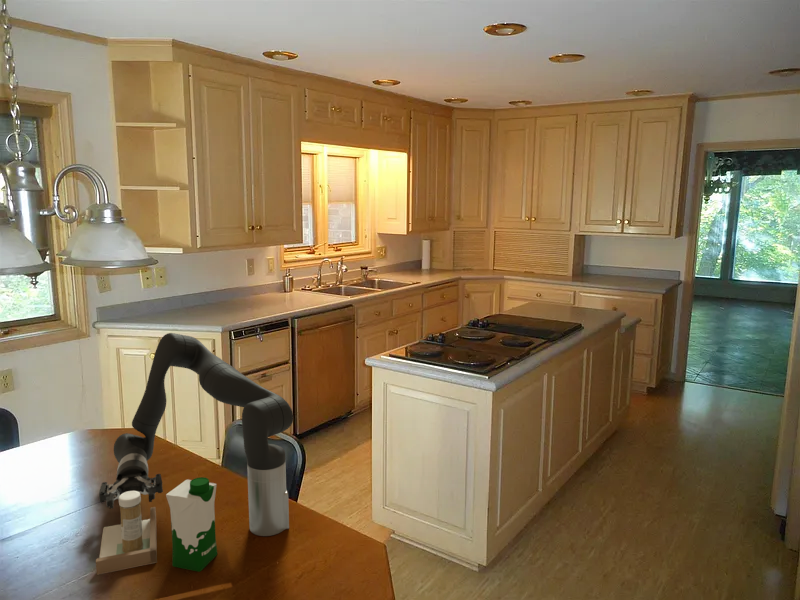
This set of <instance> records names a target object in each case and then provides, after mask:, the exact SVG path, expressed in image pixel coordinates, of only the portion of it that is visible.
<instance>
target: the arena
mask: <svg viewBox="0 0 800 600" xmlns="http://www.w3.org/2000/svg"><path fill="white" fill-rule="evenodd" d="M149 508H150V509H149V510H150V511H149V514H150V515H149V516H150V517H149V518H148V519H142V539H147V538H150V548H149V549H144V550H138V551H133V552H128V553H123V554H118V555H116V551H117V544H121V543H122V535H121V523H120V524H114V525H110V526H109V525H108V526H104V527H103V530H102V535H101V536H102V537H101V543H100V549H99V550H100V551H99V557H97V558H96V559H95V569H96V575H103V574H107V573H112V572H117V571H123V570H126V569H131V568H136V567H141V566H146V565H151V564H155V563H158V560H157V559H158V558H157V556H158V555H157V553H158V552H157V549H158V548H157V512H156V511H157V510H156V506H153V507H149Z"/></svg>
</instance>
